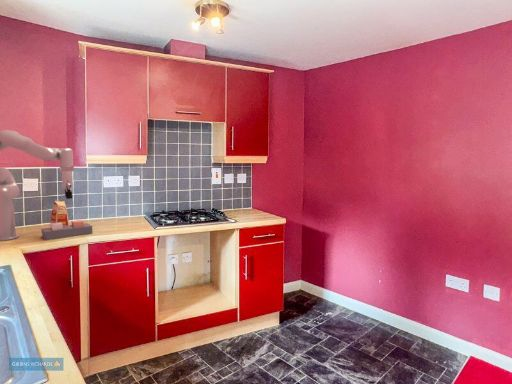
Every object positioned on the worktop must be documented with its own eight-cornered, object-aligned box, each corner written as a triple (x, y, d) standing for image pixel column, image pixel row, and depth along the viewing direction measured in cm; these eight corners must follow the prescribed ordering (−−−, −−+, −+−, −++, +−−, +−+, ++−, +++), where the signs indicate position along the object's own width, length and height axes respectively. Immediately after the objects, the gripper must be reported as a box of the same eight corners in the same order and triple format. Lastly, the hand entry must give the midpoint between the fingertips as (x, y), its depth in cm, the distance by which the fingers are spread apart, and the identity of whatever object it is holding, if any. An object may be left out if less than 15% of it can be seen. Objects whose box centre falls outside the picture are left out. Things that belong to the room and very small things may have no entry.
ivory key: (50, 231, 225) (49, 223, 225) (60, 230, 229) (60, 222, 228) (52, 233, 221) (52, 225, 220) (62, 232, 225) (62, 223, 224)
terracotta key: (71, 228, 233) (71, 221, 232) (81, 227, 237) (80, 220, 236) (74, 230, 229) (73, 222, 228) (83, 229, 232) (83, 221, 232)
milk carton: (57, 232, 237) (55, 201, 234) (49, 230, 241) (47, 200, 239) (71, 229, 244) (69, 199, 242) (63, 227, 249) (61, 198, 247)
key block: (41, 236, 225) (41, 228, 224) (87, 230, 242) (86, 223, 241) (45, 240, 217) (45, 231, 216) (92, 233, 233) (92, 225, 233)
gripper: (59, 168, 226) (61, 196, 228) (60, 170, 211) (62, 199, 213) (72, 168, 230) (74, 195, 232) (74, 169, 215) (76, 198, 217)
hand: (68, 197), depth 223 cm, fingers open, 9 cm apart
